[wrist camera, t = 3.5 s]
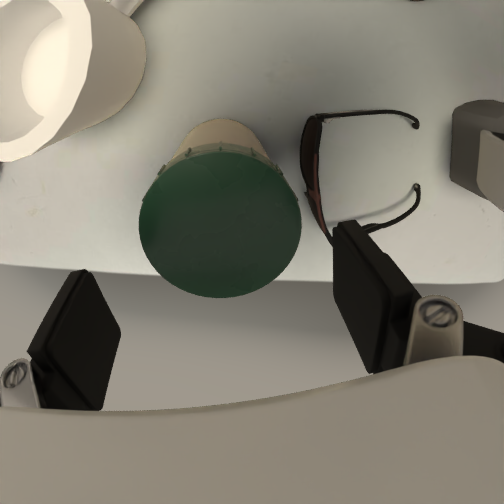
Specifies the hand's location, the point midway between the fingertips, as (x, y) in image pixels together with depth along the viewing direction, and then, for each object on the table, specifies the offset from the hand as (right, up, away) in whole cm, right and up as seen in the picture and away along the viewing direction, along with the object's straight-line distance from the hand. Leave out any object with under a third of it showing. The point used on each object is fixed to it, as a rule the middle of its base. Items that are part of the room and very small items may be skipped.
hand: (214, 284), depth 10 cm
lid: (0, +2, +3) cm, 4 cm away
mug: (-11, +16, +8) cm, 21 cm away
